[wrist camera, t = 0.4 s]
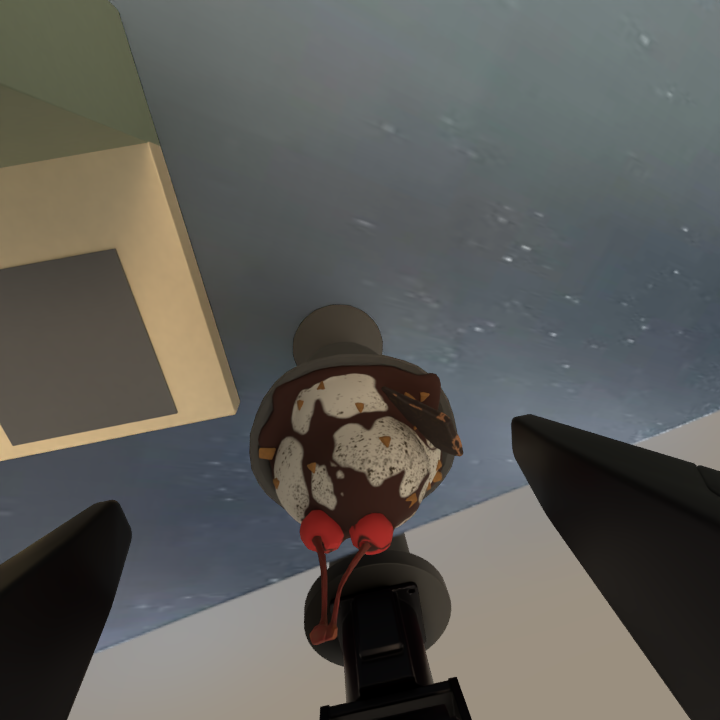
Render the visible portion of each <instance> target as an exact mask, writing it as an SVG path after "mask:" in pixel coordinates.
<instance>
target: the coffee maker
mask: <svg viewBox="0 0 720 720" xmlns="http://www.w3.org/2000/svg"><path fill="white" fill-rule="evenodd" d="M239 404H240V400H239V396H238V393H237V390H236V387H235V384H234V380H233V377H232V374H231V371H230V368H229V364H228V361H227V358H226V355H225V352H224V348H223V345H222V342H221V339H220V336H219V332H218V329H217V326H216V323H215V320H214V316H213V313H212V310H211V307H210V304H209V300H208V297H207V294H206V291H205V288H204V284H203V281H202V278H201V275H200V272H199V268H198V265H197V262H196V259H195V256H194V252H193V249H192V246H191V243H190V240H189V236H188V233H187V230H186V227H185V224H184V220H183V217H182V214H181V211H180V208H179V204H178V201H177V198H176V195H175V192H174V188H173V185H172V182H171V179H170V176H169V172H168V169H167V166H166V163H165V160H164V156H163V153H162V150H161V147H160V143H159V140H158V137H157V134H156V130H155V127H154V124H153V121H152V118H151V114H150V111H149V108H148V105H147V102H146V98H145V95H144V92H143V89H142V86H141V82H140V79H139V76H138V73H137V70H136V66H135V63H134V60H133V57H132V54H131V50H130V47H129V44H128V41H127V38H126V34H125V31H124V28H123V25H122V22H121V18H120V15H119V12H118V10H117V9H116V8H115V7H114V6H113V5H112V4H111V3H110V2H109V1H108V0H0V461H3V460H8V459H13V458H18V457H23V456H28V455H33V454H39V453H44V452H49V451H54V450H59V449H64V448H69V447H74V446H79V445H84V444H89V443H94V442H99V441H104V440H109V439H114V438H119V437H124V436H129V435H134V434H139V433H144V432H149V431H154V430H159V429H164V428H169V427H174V426H179V425H184V424H189V423H194V422H199V421H204V420H209V419H214V418H219V417H224V416H230V415H235V414H236V412H237V409H238V406H239Z"/></svg>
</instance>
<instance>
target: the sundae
mask: <svg viewBox="0 0 720 720" xmlns="http://www.w3.org/2000/svg"><path fill="white" fill-rule="evenodd" d="M382 347H383V341H382V337H381V334H380V331H379V329H378V326H377V325H376V324H375V322H374V321H373V320H372V319H371V318H370V317H369V316H368V315H367V314H366V313H365V312H363V311H361V310H359V309H357V308H354V307H352V306H348V305H329V306H326V307H323V308H320V309H318V310H316V311H314V312H312V313H311V314H310V315H309V316H307V317H306V318H305V319H304V320H303V321H302V323H301V324H300V326H299V328H298V329H297V331H296V334H295V337H294V341H293V355H294V359H295V361H296V364H297V367H295V368H293V369H291V370H289V371H288V372H286V373H285V374H284V375H283V376H281V377H280V378H279V379H278V380H277V381H276V382H275V383H274V384H273V386H272V387H271V388H270V390H269V391H268V392H267V394H266V395H265V396H264V398H263V400H262V402H261V405H260V407H259V409H258V411H257V414H256V416H255V420H254V423H253V426H252V429H251V433H250V451H249V453H250V461H251V469H252V471H253V473H254V475H255V477H256V479H257V481H258V483H259V485H260V486H261V488H262V489H263V490H264V492H265V493H266V494H267V495H268V496H269V497H270V498H271V499H273V500H274V501H275V502H276V503H277V504H279V505H280V506H281V507H283V508H284V509H285V510H286V511H287V512H288V513H289V514H290V515H291V516H292V517H293V518H294V519H295V520H296V521H297V522H299V523H300V524H301V527H300V536H301V540H302V541H303V543H304V544H305V546H306V547H307V548H308V549H310V550H312V551H316V552H317V553H318V557H319V563H320V569H321V588H322V613H321V620H320V622H319V624H318V625H316V626H315V627H314V628H313V630H312V631H311V633H310V634H309V636H310V639H311V642H312V644H313V645H318V644H320V643H323V642H325V641H329V640H333V639H335V638H336V637H337V630H338V628H337V616H338V609H339V602H340V595H341V591H342V587H343V586H344V584H345V582H346V581H347V579H348V577H349V575H350V574H351V572H352V570H353V568H354V567H355V566H356V565H357V563H358V562H359V560H360V559H361V558H362V556H363V555H364V554H367V555H373V554H377V553H380V552H382V551H385V550H386V549H387V548H388V547H389V546H390V544H391V541H392V536H393V531H394V529H395V528H397V527H398V526H400V525H402V524H403V523H405V522H406V521H407V520H409V519H410V518H411V517H412V516H413V515H414V514H415V512H416V511H417V509H418V507H419V505H420V503H421V501H422V500H423V499H424V498H425V497H427V496H428V495H429V494H430V493H432V492H433V491H434V490H435V489H436V488H437V487H438V486H439V484H440V483H441V482H442V481H443V480H444V478H445V476H446V475H447V473H448V472H449V470H450V469H451V467H452V464H453V460H454V456H461V455H462V454H463V450H462V444H461V441H460V438H459V436H458V434H457V429H456V425H455V420H454V415H453V412H452V409H451V406H450V403H449V401H448V398H447V397H446V395H445V393H444V392H443V390H442V389H441V383H440V379H439V377H438V376H437V375H436V374H433V373H427V372H425V371H424V370H423V369H421V368H420V367H418V366H417V365H414V364H411V363H409V362H406V361H404V360H400V359H396V358H393V357H389V356H385V355H382ZM350 537H351V540H352V543H353V545H354V546H355V547H357V548H358V549H359V551H358V553H357V554H356V555H355V557H354V558H353V560H352V561H351V563H350V564H349V566H348V568H347V570H346V572H345V573H344V574H343V577H342V579H341V581H340V584H339V586H338V590H337V594H336V598H335V602H334V607H333V613H332V618H331V622H330V623H329V625H328V620H327V566H326V555H325V554H324V553H330V552H332V551H334V550H336V549H338V548H339V546H340V544H341V543H342V542H343V541H344V540H345V539H347V538H350Z"/></svg>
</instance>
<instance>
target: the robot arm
mask: <svg viewBox="0 0 720 720" xmlns="http://www.w3.org/2000/svg"><path fill="white" fill-rule="evenodd" d="M511 430H512V449H513V454H514V457H515V459H516V461H517V463H518V465H519V467H520V468H521V470H522V472H523V474H524V476H525V477H526V479H527V481H528V483H529V485H530V486H531V488H532V490H533V492H534V494H535V496H536V497H537V499H538V501H539V503H540V504H541V506H542V508H543V510H544V511H545V513H546V515H547V516H548V518H549V519H550V521H551V522H552V524H553V525H554V527H555V528H556V530H557V531H558V532H559V534H560V535H561V536H562V538H563V539H564V541H565V542H566V544H567V545H568V546H569V548H570V549H571V551H572V552H573V553H574V555H575V556H576V558H577V559H578V561H579V562H580V564H581V565H582V566H583V568H584V569H585V570H586V572H587V573H588V575H589V576H590V577H591V579H592V580H593V582H594V583H595V585H596V586H597V588H598V589H599V590H600V592H601V593H602V595H603V596H604V598H605V599H606V600H607V601H608V603H609V605H610V606H611V607H612V609H613V610H614V611H615V613H616V615H617V616H618V617H619V619H620V620H621V622H622V623H623V625H624V626H625V627H626V629H627V630H628V632H629V633H630V634H631V636H632V637H633V639H634V640H635V642H636V643H637V644H638V646H639V647H640V649H641V650H642V651H643V653H644V654H645V656H646V657H647V659H648V660H649V661H650V663H651V664H652V666H653V667H654V668H655V670H656V671H657V673H658V674H659V676H660V677H661V678H662V680H663V681H664V683H665V684H666V685H667V687H668V688H669V689H670V691H671V693H672V694H673V695H674V697H675V698H676V700H677V701H678V702H679V704H680V705H681V707H682V708H683V710H684V711H685V712H686V714H687V715H688V717H689V718H690V719H691V720H720V471H717V470H714V469H711V468H707V467H704V466H696V465H695V464H694V463H691V462H687V461H684V460H681V459H677V458H674V457H671V456H667V455H664V454H661V453H658V452H654V451H651V450H647V449H644V448H641V447H637V446H634V445H631V444H628V443H624V442H621V441H618V440H614V439H611V438H608V437H604V436H601V435H598V434H595V433H591V432H588V431H585V430H581V429H578V428H575V427H571V426H568V425H565V424H561V423H558V422H555V421H552V420H548V419H545V418H542V417H538V416H535V415H532V414H527V415H522V416H518V417H514V418H513V419H512V423H511ZM131 539H132V531H131V527H130V525H129V523H128V521H127V519H126V517H125V514H124V512H123V510H122V508H121V506H120V504H119V503H118V502H117V501H115V500H109V501H104V502H99V503H96V504H93V505H92V506H90V507H89V508H87V509H86V510H84V511H82V512H81V513H79V514H78V515H76V516H75V517H73V518H72V519H70V520H69V521H67V522H66V523H64V524H62V525H61V526H59V527H58V528H56V529H55V530H53V531H52V532H50V533H49V534H47V535H46V536H44V537H43V538H41V539H39V540H38V541H36V542H35V543H33V544H32V545H30V546H29V547H27V548H26V549H24V550H23V551H21V552H19V553H18V554H16V555H15V556H13V557H12V558H10V559H9V560H7V561H6V562H4V563H3V564H1V565H0V720H67V718H68V716H69V713H70V711H71V708H72V706H73V703H74V701H75V698H76V696H77V693H78V691H79V688H80V686H81V683H82V681H83V678H84V676H85V673H86V671H87V668H88V666H89V663H90V660H91V658H92V656H93V653H94V651H95V648H96V646H97V643H98V641H99V638H100V636H101V633H102V631H103V628H104V626H105V623H106V621H107V618H108V615H109V613H110V610H111V607H112V604H113V601H114V598H115V594H116V591H117V587H118V584H119V581H120V577H121V574H122V570H123V567H124V563H125V560H126V557H127V553H128V550H129V546H130V543H131ZM334 602H335V598H333V599H332V600H331V601H330V611H331V615H332V613H333V607H334ZM337 628H338V630H337V636H338V640H339V643H340V647H341V650H342V654H343V658H344V672H345V688H346V703H344V704H339V705H336V706H329V705H327V706H322V707H320V720H472V719H471V716H470V713H469V710H468V708H467V705H466V702H465V699H464V696H463V694H462V691H461V688H460V685H459V682H458V679H457V677H453V678H449V679H448V681H443V682H439V683H433V679H432V675H431V671H430V667H429V663H428V659H427V655H426V651H425V647H424V644H425V642H426V636H425V630H424V624H423V618H422V611H421V605H420V599H419V593H418V588H417V584H416V583H415V582H412V581H411V582H405V583H401V584H396V585H391V586H387V587H382V588H378V589H373V590H369V591H364V592H359V593H355V594H350V595H346V596H341V597H340V602H339V609H338V616H337Z"/></svg>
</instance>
